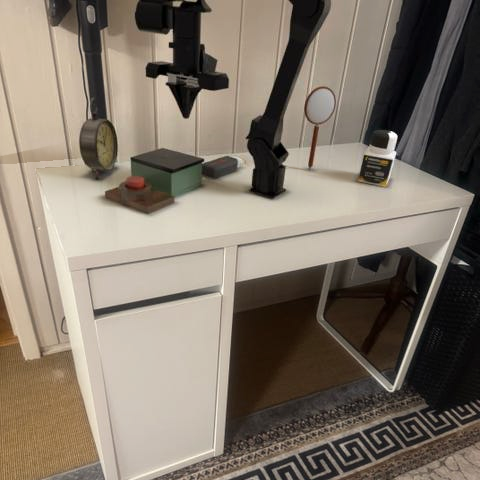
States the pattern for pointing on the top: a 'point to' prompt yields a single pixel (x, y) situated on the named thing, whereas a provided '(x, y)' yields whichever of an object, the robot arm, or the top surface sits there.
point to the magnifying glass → (318, 112)
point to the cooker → (169, 178)
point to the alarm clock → (98, 143)
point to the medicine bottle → (379, 158)
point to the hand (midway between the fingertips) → (186, 118)
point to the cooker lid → (167, 160)
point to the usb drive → (220, 167)
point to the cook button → (135, 182)
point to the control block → (140, 197)
